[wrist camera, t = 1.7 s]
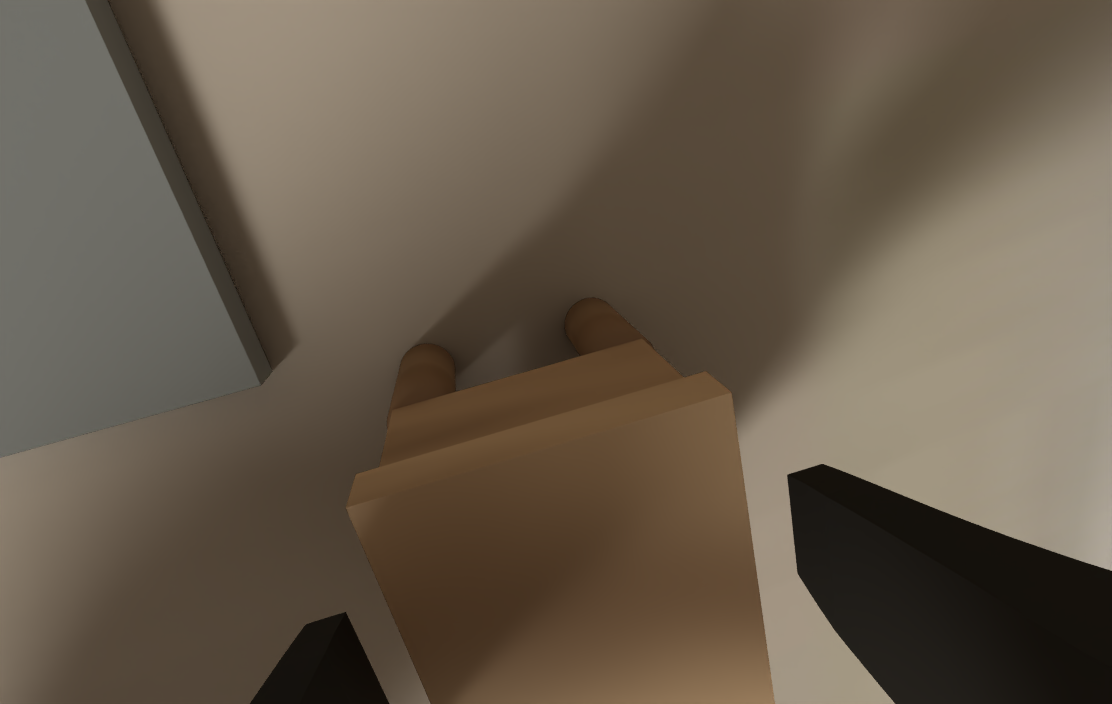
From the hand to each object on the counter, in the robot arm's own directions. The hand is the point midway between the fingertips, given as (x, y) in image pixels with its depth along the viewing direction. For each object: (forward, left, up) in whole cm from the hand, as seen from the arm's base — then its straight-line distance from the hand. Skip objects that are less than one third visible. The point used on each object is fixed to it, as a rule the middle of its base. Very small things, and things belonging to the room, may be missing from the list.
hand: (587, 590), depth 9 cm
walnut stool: (0, 0, -5) cm, 5 cm away
